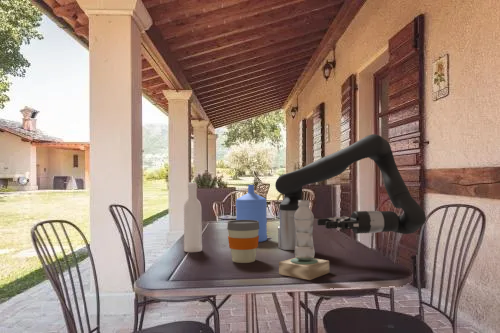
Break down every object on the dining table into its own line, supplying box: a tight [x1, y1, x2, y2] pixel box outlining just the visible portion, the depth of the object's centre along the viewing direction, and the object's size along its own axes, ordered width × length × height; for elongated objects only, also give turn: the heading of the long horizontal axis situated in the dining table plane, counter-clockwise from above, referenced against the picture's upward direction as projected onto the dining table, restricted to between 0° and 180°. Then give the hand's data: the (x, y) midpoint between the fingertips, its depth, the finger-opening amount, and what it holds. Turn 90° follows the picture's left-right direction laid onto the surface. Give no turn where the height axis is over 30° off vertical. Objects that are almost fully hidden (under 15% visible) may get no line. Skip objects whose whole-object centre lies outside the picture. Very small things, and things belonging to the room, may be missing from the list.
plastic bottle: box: [294, 199, 316, 261], centre depth 135 cm, size 6×7×20 cm
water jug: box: [235, 184, 268, 243], centre depth 205 cm, size 16×16×28 cm
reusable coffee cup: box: [226, 219, 260, 264], centre depth 157 cm, size 13×13×15 cm
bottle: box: [183, 182, 203, 253], centre depth 178 cm, size 8×8×30 cm
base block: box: [278, 257, 330, 281], centre depth 135 cm, size 12×12×4 cm
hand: (321, 223), depth 136 cm, fingers open, 8 cm apart
